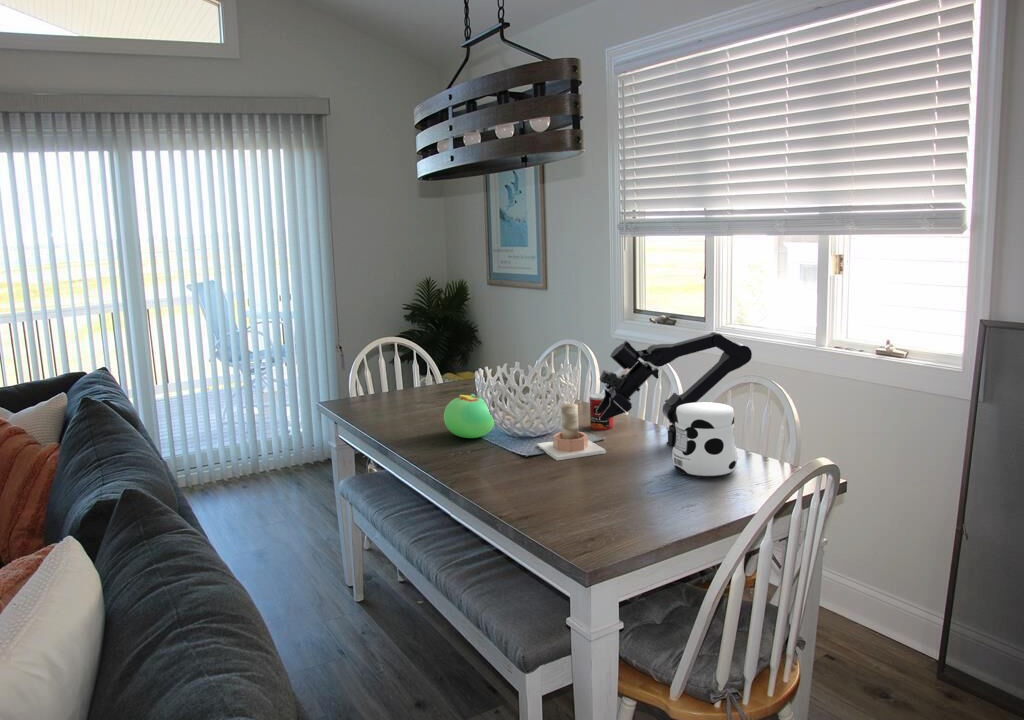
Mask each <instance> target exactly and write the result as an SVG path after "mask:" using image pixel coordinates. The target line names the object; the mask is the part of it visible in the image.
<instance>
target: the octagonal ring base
mask: <svg viewBox="0 0 1024 720" xmlns="http://www.w3.org/2000/svg"><path fill="white" fill-rule="evenodd" d="M537 446H538V447H540V448H541V449H543V450H544V451H545V452H546V453H545V452H544V451H543V452H544V453H545V454H547V455H548V456H550V457H551V458H553V460H555V461H564V460H570V459H576V458H583V457H589V456H596V455H604V454H607V451H606V449H605V448H604V447H602V446H600V445H598V444H596V443H594V442H593V441H591V440H589V435H588V434H587V433H586V432H583V431H579V439H572V440H569V439H562V431H560V432H557V433H555V434H554V435H553V436H552V441H545V442H539V443H538V442H537V443H536V447H537ZM538 447H537V448H538ZM540 448H539V449H540ZM541 449H540V450H541Z"/></svg>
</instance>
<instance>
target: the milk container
mask: <svg viewBox="0 0 1024 720" xmlns="http://www.w3.org/2000/svg"><path fill="white" fill-rule="evenodd" d="M675 430H676V437H675V443H674V446H672V452H671V457H672V464H673V467H674V469H676V470H677V472H679V473H681V474H683V475H685V476H688V477H693V478H701V479H714V478H722V477H725V476H729V475H730V474H732V473H733V472H735V469H736V468H737V464H738V451H737V447H736V443H735V412H734V408H733V407H732V406H731V405H728V404H725V403H719V402H711V401H709V402H707V401H699V402H698V401H697V402H694V403H686V404H682V405H680V406H678V407H677V409H676V422H675Z"/></svg>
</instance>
